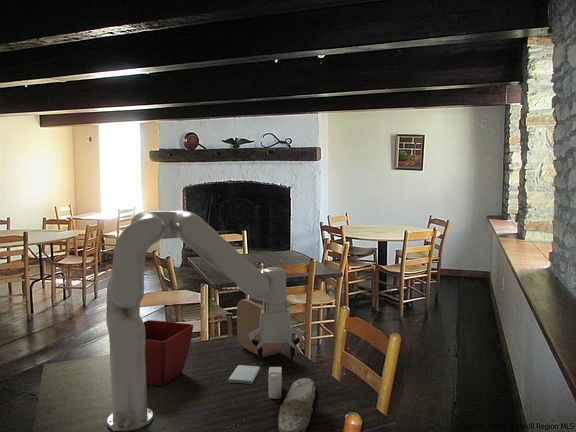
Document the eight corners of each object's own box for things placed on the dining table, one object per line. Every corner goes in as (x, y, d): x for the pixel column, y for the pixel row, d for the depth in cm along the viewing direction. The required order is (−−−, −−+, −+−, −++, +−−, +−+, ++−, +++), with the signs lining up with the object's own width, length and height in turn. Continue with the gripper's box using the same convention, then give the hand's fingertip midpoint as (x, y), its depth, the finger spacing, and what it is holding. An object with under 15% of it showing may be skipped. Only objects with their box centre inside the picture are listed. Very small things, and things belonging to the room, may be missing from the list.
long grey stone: (320, 389, 169) (291, 389, 170) (320, 374, 169) (290, 374, 170) (309, 440, 134) (272, 440, 136) (308, 421, 134) (271, 420, 136)
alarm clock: (286, 355, 195) (286, 300, 192) (266, 361, 189) (265, 304, 187) (257, 341, 211) (256, 289, 209) (237, 346, 205) (236, 293, 203)
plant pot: (149, 363, 188) (148, 318, 187) (195, 370, 182) (194, 324, 180) (116, 384, 170) (114, 335, 169) (165, 392, 164) (164, 341, 162)
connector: (281, 398, 159) (281, 377, 158) (268, 398, 159) (268, 377, 158) (281, 383, 170) (281, 363, 169) (269, 383, 170) (269, 363, 169)
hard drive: (251, 380, 170) (260, 366, 182) (227, 379, 172) (237, 364, 184) (251, 385, 170) (260, 370, 182) (228, 383, 172) (237, 369, 184)
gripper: (301, 302, 165) (303, 353, 167) (248, 303, 165) (250, 354, 167) (302, 309, 158) (304, 362, 159) (246, 310, 158) (248, 364, 160)
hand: (276, 358), depth 163 cm, fingers open, 9 cm apart
